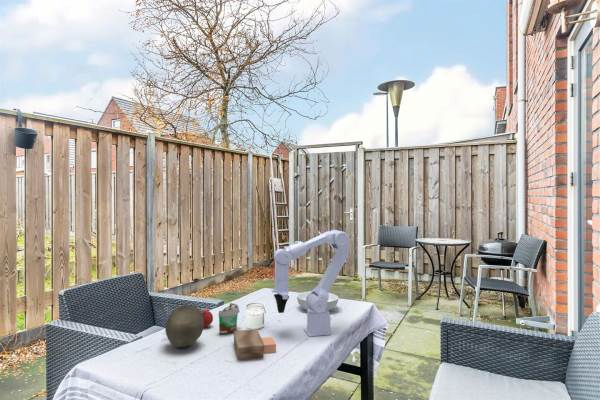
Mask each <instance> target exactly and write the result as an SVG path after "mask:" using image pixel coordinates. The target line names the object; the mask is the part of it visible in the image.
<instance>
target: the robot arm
mask: <svg viewBox="0 0 600 400" xmlns="http://www.w3.org/2000/svg"><path fill="white" fill-rule="evenodd" d="M350 243H351V240H350V237H349V234H348V233H347V232H346V231H344V230H343V231H341V230H337V229H331V230H328V231H325V232H323V233H322V234H319V235H317V236H314V237H312V238H310V239H309V240H307V241H304V242H303V241H301V240H299V241H298V240H296V241H294V243H293V244H290V245H288V246H285V245H284V246H283V248H278V249H276V251H275V252H274V255H273V260H274V261H275V263H274V264H275V265H274V266H275V267H274V288H273V289H271V293H274V294H273V297H274V299H275V303H276V308H277V312H278V313H279V314H284V313H285V309H286V306H287V302H288V300H289V299H290V296H289V293H290V290H289V288H290V287H289V286H290V284H289V283H290V282H289V279H290V275H289V273H290V268H289V267H290V266H289V265H290V262H291V261H293V260H295V259H298V258H300V257H302V256H304V255H306V253H307V252H308V250H311V249H313V248H315V247H318V246H321V245H324V244H328V245H330V246H332V249H333V252H334V255H333V257H332V259H331V261H330V262H329V264H328V266H327V267H326V270H325V272H324V273H323V275H322V278H321V279H320V281H319V282H318V285H317V286H316V287H314V288H313V289H312V292H311V293H310V294H309V295H308V296H307V298H306V303H307V305H308V309H307V311H306V312H307V314H306V315H307V317H306V328H303V331H304V332H305V333H306V334H307V336H308V337H318V336H328V335H329V336H331V335H332V333H331V323H332V321H331V319H332V318H331V312H330V310H329V311H327V310H325V309H326V307H327V301H328V299H329V293H330V291H331V289H332V287H333V286H334V283H335V281H336V279H337V278H338V276H339V274H340V272H341V270H342V269H343V267H344V264H345V263H346V261H347V259H348V256H349V250H350V249H349V247H350V246H349V245H350Z"/></svg>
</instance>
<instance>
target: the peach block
mask: <svg viewBox="0 0 600 400" xmlns="http://www.w3.org/2000/svg"><path fill="white" fill-rule="evenodd" d="M261 339H262V341H263V343H264V345H265V348H264V351H263V355H264V354H273V353H274V354H275V353H277V343H276V341H275V339H274V338H273V337H272V336H269V337H261Z"/></svg>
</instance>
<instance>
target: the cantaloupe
mask: <svg viewBox="0 0 600 400" xmlns="http://www.w3.org/2000/svg"><path fill="white" fill-rule="evenodd" d="M202 312H203V311H202V310H201V309H199V307H196V306H195V305H190V304H189V305H188V304H185V305H180V306H178V307H176V308H175V309H173V310H172V311H171V312H170V314H169V315H168V318H167V319H166V322H165V325H164V326H165V329H164V330H165V334H166V335H165V336H166V337H167V339H168V341H169V343H170V344H172V345H173V346H174V347H176V348H187V347H189V346H192V345H193V344H194V343H195V342H197V340H198V339H199V338H201V336H202V334H203V330H204V328H205V327H204V318H203V315H202Z"/></svg>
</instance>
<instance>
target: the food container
mask: <svg viewBox="0 0 600 400" xmlns="http://www.w3.org/2000/svg"><path fill="white" fill-rule="evenodd" d="M239 313H240V307H239V305H238V304H236V303H233V302H232V303H231V302H230V303H229V305H228V306H227V307H225V308H223V309H222V310H219V311H218V321H219V323H218V326H219V328H218V329H219V330H218V331H219V332H218V333H219V335H220V336H227V335H232V334H234V331H237V327H238V326H237V325H238V317H239V316H238V315H239Z"/></svg>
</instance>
